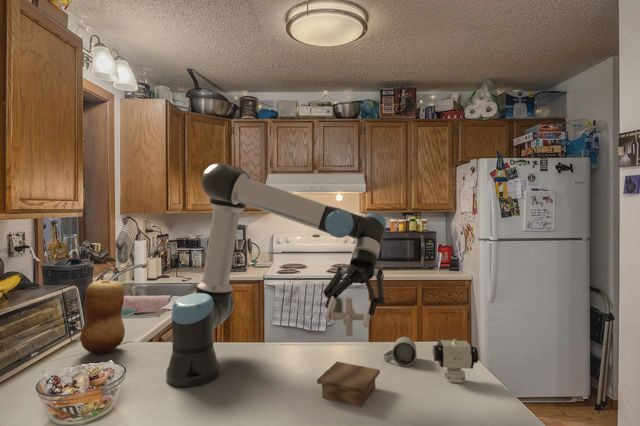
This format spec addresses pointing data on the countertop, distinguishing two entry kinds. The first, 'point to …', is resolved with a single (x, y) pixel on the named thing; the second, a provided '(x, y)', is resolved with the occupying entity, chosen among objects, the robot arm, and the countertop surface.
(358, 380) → the walnut stand
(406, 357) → the ceramic mug
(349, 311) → the pipe connector
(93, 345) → the butternut squash
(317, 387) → the countertop surface
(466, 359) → the pneumatic valve
